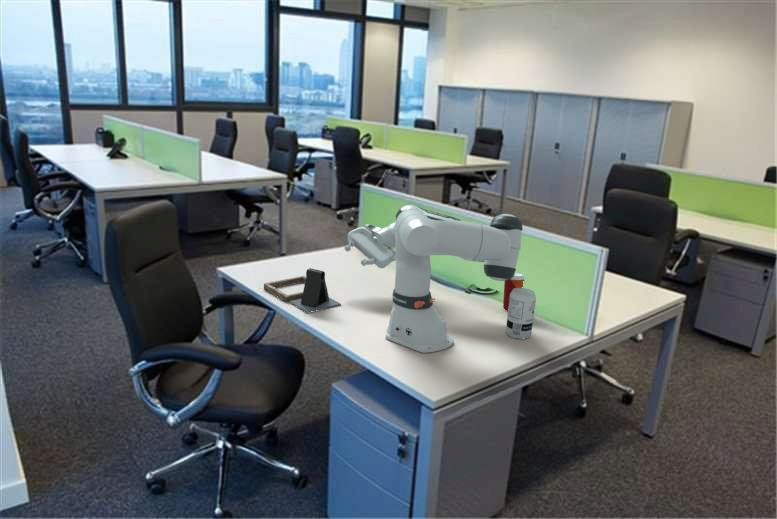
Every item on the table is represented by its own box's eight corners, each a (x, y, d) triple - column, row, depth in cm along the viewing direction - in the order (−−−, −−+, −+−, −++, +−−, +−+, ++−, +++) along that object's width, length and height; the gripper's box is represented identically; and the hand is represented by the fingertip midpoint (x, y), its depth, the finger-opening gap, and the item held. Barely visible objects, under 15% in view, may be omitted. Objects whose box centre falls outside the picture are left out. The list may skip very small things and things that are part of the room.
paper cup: (515, 315, 209) (520, 277, 205) (496, 309, 214) (500, 272, 210) (525, 309, 215) (530, 272, 211) (506, 303, 220) (510, 268, 216)
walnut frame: (327, 293, 221) (327, 288, 220) (286, 302, 210) (286, 296, 209) (303, 280, 233) (303, 275, 232) (263, 288, 222) (263, 283, 221)
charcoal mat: (340, 305, 210) (340, 303, 210) (307, 313, 201) (307, 311, 201) (322, 295, 218) (322, 293, 218) (289, 302, 210) (289, 300, 210)
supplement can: (503, 329, 197) (508, 286, 193) (528, 330, 197) (533, 288, 192) (507, 339, 189) (512, 295, 185) (533, 340, 189) (539, 297, 185)
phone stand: (315, 296, 215) (316, 265, 211) (329, 300, 212) (330, 268, 209) (300, 304, 207) (300, 271, 204) (314, 307, 204) (315, 275, 201)
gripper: (399, 262, 220) (371, 278, 213) (364, 233, 230) (336, 247, 223) (401, 250, 216) (373, 266, 208) (365, 221, 226) (337, 235, 219)
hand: (353, 256), depth 216 cm, fingers open, 8 cm apart
